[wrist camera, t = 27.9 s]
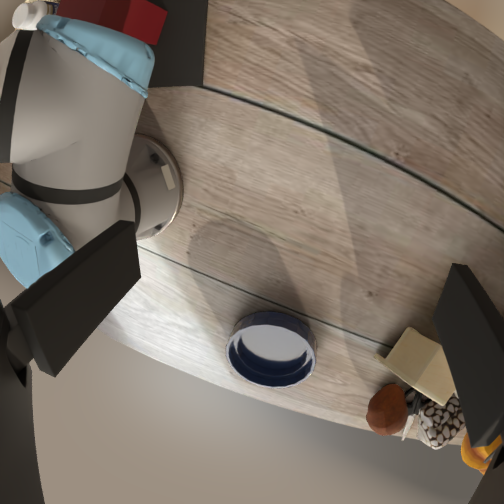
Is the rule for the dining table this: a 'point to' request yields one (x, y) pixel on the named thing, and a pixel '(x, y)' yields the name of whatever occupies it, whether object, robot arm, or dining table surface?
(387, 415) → the potato
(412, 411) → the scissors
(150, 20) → the case
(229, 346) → the bowl
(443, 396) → the cream wooden brick
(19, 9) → the pill bottle
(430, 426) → the seashell
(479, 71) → the dining table surface
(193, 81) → the mat
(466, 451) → the decorative pumpkin
